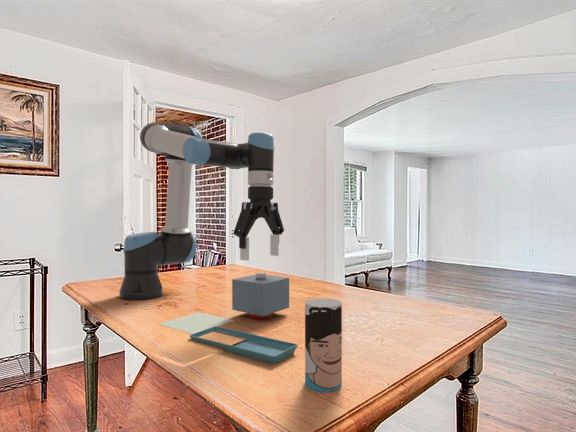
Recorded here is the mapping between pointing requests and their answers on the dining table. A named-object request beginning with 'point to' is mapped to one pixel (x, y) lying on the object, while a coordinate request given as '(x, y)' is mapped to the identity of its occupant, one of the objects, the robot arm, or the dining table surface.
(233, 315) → the dining table surface
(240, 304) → the cover
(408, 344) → the dining table surface
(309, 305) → the printed grey cylinder
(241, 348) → the shallow long dish
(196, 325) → the mat
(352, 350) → the dining table surface
